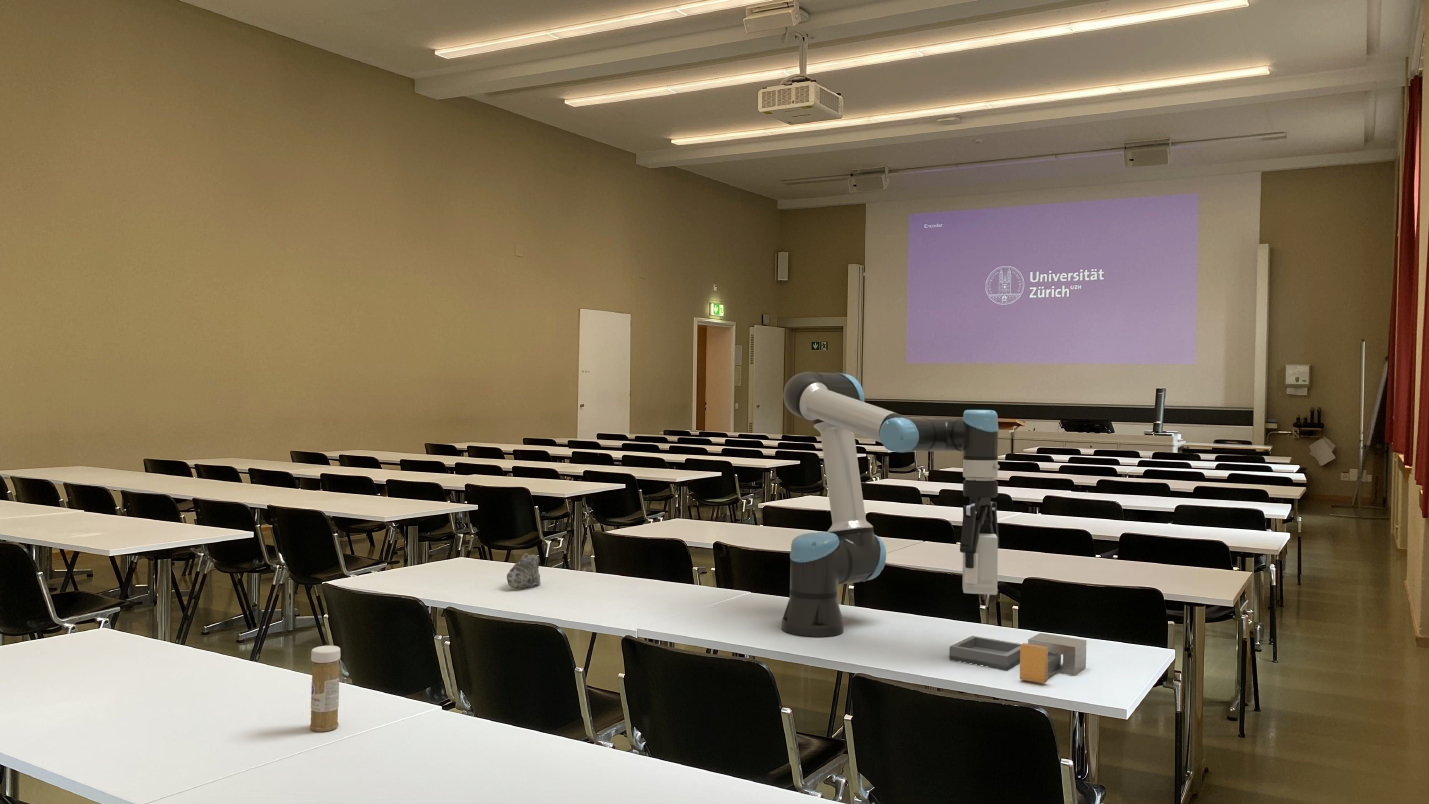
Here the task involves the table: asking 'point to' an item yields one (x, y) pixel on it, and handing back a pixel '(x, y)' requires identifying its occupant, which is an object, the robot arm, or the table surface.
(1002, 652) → the cradle
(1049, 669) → the lock pin
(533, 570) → the mineral rock
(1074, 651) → the pin mount
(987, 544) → the supplement box
